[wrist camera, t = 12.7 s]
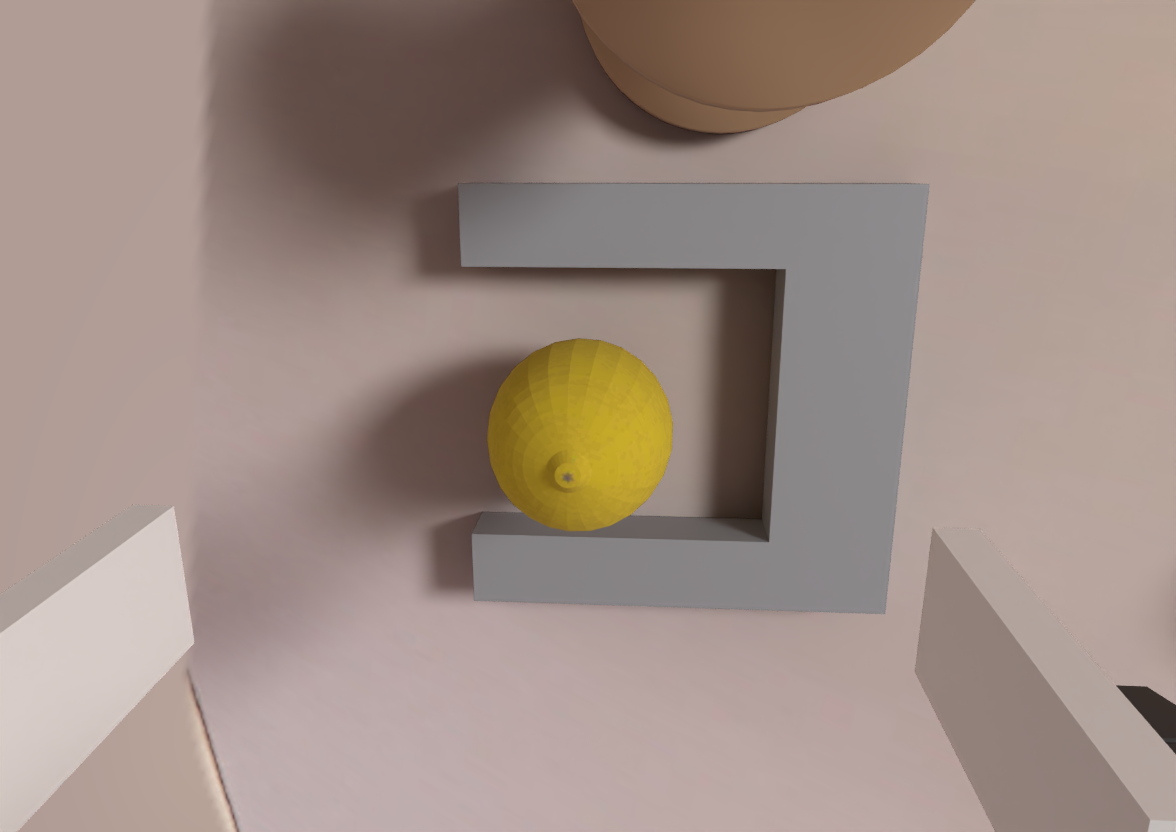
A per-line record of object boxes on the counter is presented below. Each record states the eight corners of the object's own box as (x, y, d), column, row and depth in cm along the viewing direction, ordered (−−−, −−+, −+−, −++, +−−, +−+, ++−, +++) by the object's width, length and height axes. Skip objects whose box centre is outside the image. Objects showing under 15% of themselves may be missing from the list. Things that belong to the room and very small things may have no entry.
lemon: (489, 438, 31) (432, 527, 23) (546, 294, 29) (506, 337, 21) (633, 498, 31) (625, 605, 23) (697, 357, 29) (711, 423, 22)
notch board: (471, 182, 28) (458, 183, 26) (909, 183, 27) (929, 184, 25) (484, 575, 32) (474, 600, 30) (870, 586, 31) (885, 614, 29)
